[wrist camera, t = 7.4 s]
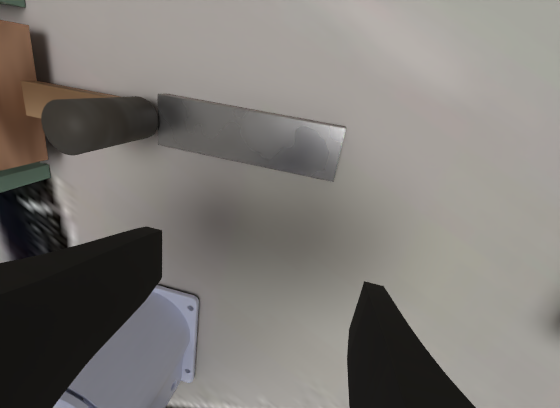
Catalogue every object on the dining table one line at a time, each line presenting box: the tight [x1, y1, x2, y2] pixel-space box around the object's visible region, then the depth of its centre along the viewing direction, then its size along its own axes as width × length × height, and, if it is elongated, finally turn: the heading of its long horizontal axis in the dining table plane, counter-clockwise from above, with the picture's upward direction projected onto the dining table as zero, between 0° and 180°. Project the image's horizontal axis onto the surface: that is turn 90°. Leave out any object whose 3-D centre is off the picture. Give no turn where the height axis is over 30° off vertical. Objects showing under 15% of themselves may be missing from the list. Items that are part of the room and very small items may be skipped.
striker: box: [0, 20, 158, 171], centre depth 16 cm, size 8×10×5 cm
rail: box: [158, 94, 346, 182], centre depth 18 cm, size 3×11×1 cm, turn 81°
